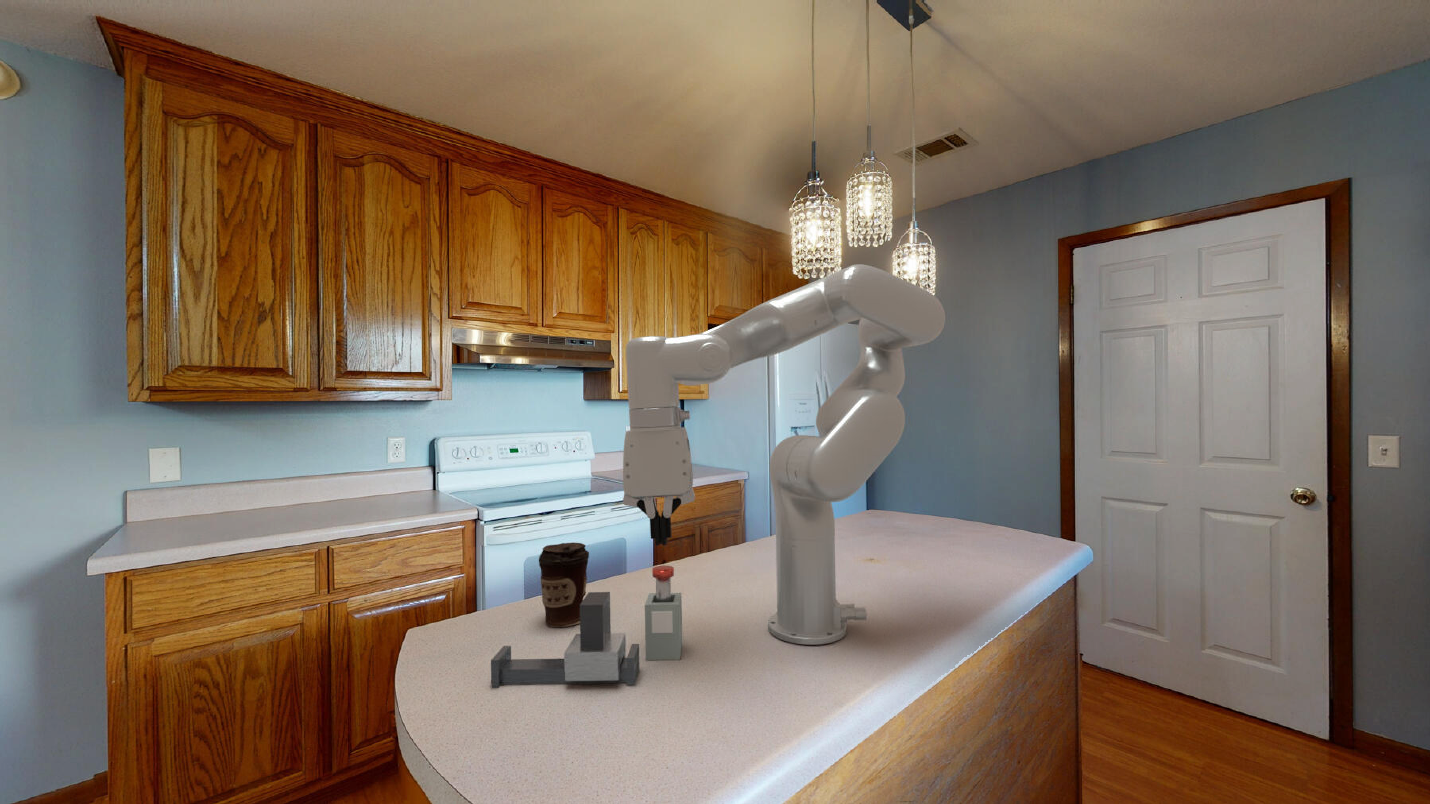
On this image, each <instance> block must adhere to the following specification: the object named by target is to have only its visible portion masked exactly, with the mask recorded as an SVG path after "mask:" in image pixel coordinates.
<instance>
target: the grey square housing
mask: <svg viewBox="0 0 1430 804" xmlns="http://www.w3.org/2000/svg"><path fill="white" fill-rule="evenodd" d="M682 599H683V598H682V592H671V602H661V603H656V592H654V593H653V592H650V593H648V596H647V598H646V599H645V603H644V633H645V634H644V638H645V642H644V643H645V648H644V649H645V661H672V660H673V661H674V660H677V661H678V660H681V657H682V655H681V654H682V649H683V615H682V614H683V612H682V611H683V610H682V607H683V606H682V605H683V603H682V602H683V601H682Z"/></svg>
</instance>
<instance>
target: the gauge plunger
mask: <svg viewBox="0 0 1430 804" xmlns="http://www.w3.org/2000/svg"><path fill="white" fill-rule="evenodd" d="M651 569H652V570H651V571H652V572H651V573H652V578H654V579H655V590H656V591H655V593H656V603H661V602H671V593H672V585H671V584H672V581H671V579H672V577H674V575H675V567H673V566H671V565H658V566H654V567H652V568H651Z"/></svg>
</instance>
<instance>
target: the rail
mask: <svg viewBox="0 0 1430 804" xmlns="http://www.w3.org/2000/svg"><path fill="white" fill-rule="evenodd" d="M639 672H640V643H632V644H630V648H629V652H628V654H627V656H626V658H623V659H622V662H621V665H620V677H619V680H603V681H565V665H564V658H521V659H520V658H519V659H517V658H516V659H514V658H513V659H512V645H503V646H502V647H501V648H500V649H499V650H498V652H496V654H495V655H494V656H493V658H492V659H490V677H491V678H490V679H491V682H490V684H491V685H490V687H491V688H493V689H494V688H500V687H501V686H503V685H505V686H507V685H510V686H514V685H565V684H569V685H570V684H571V685H574V684H575V685H576V684H581V685H582V684H626V685H627V686H636V682H637V680H638V679H637V678H638V675H639Z"/></svg>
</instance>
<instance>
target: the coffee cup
mask: <svg viewBox="0 0 1430 804" xmlns="http://www.w3.org/2000/svg"><path fill="white" fill-rule="evenodd" d="M589 558H590V551H588V550H587V549H586V544H584V543H582V542H561V543H558V544H549V545H548V544H547V545H546V546H544V547H543V548H542V552H541V553H540V555H539V556H538V565H539V568H540V574H541V575H540V586H541V588H540V589H541V600H542V601H541V602H542V605H543V606H544V611H545V612H544V613H545V617H544V618H545V619H544V620H545V624H546V625H547V626H549V627H553V628H554V627H555V628H556V627H557V628H564V627H572V626H575V625H580V604H581V603H582V601H583V600H584V598H585V597H586V595H587V590H586V589H587V581H588V576H587V570H588V563H589Z"/></svg>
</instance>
